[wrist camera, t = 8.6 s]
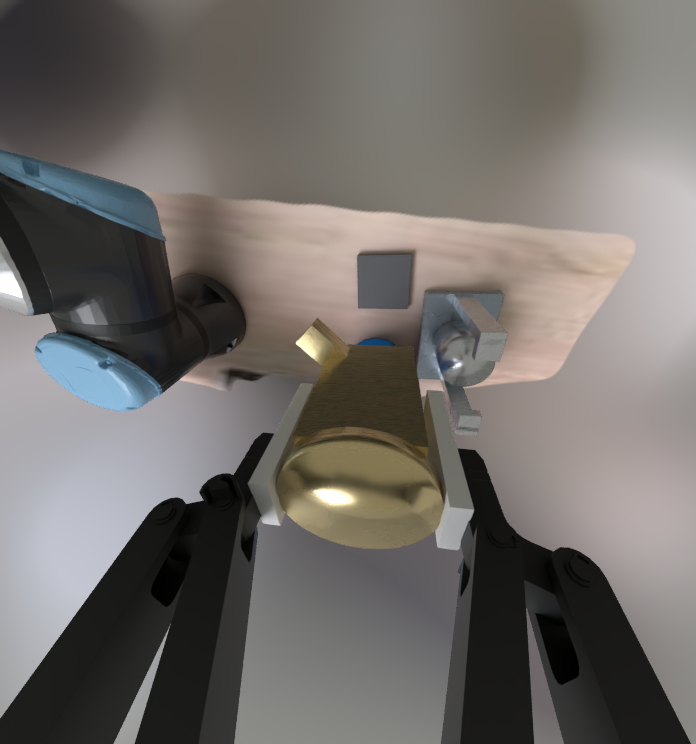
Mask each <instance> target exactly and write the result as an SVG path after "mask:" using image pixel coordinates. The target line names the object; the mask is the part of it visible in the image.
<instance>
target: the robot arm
mask: <svg viewBox="0 0 696 744" xmlns="http://www.w3.org/2000/svg"><path fill="white" fill-rule="evenodd" d="M165 241H166V238H165V236H164V235H163V234H162V229H161V225H160V221H159V217H158V212H157V209H156V206H155V204H154V202H153V201H152V200H151V198H150V197H149V196H148V195H146V194H145V193H144V192H142V191H141V190H139V189H137V188H134V187H132V186H129V185H126V184H122V183H119V182H116V181H112V180H109V179H106V178H102V177H99V176H95V175H92V174H89V173H85V172H81V171H78V170H74V169H71V168H67V167H64V166H60V165H57V164H53V163H49V162H46V161H42V160H39V159H35V158H31V157H27V156H24V155H20V154H16V153H12V152H8V151H4V150H0V306H1V307H3V308H5V309H8V310H11V311H13V312H16V313H19V314H21V315H24V316H32V315H39V314H46V313H49V314H50V316H51V318H52V320H53V323H54V325H55V327H56V330H57V331H56V333H49V334H47V335H45V336H44V337H43V338H42V339H41V340H39V341H38V342H37V346H36V347H35V353H36V357H37V359H38V361H39V363H40V364H41V365H42V367H43V368H44V369H45V370H46V372H47V373H48V374H49V375H50V376H51V377H52V378H53V379H54V380H56V381H57V382H58V383H59V384H60V385H62V386H63V387H64V388H66V389H67V390H68V391H70V392H71V393H73V394H75V395H76V396H78V397H80V398H82V399H83V400H85V401H87V402H89V403H92V404H94V405H97V406H99V407H102V408H106V409H109V410H115V411H131V410H135V409H138V408H140V407H142V406H143V405H145V404H146V403H148V402H149V401H151V400H152V399H154V398H156V397H159V396H160V395H161V394H162V393H163V392H164V391H166V390H167V389H168V388H169V387H171V386H172V385H173V384H174V383H175V382H177V381H178V380H179V379H180V378H182V377H183V376H184V375H185V374H187V373H188V372H189V371H190V370H192V369H193V368H194V367H195V366H197V365H198V364H199V363H200V362H202V361H203V360H206V359H210V358H213V357H217V356H221V355H224V354H227V353H228V352H230V351H232V350H233V349H234V348H235V347H236V346H238V345H239V344H240V342H241V341H242V339H243V337H244V334H245V319H244V315H243V312H242V309H241V307H240V305H239V303H238V302H237V300H236V299H235V297H234V296H233V295H232V294H231V293H230V292H229V291H228V290H227V289H226V288H225V287H224V286H223V285H221V284H220V283H219V282H217V281H215V280H214V279H212V278H209V277H207V276H203V275H199V274H188V275H184V276H181V277H177V278H175V279H173V280H171V276H170V270H169V264H168V258H167V253H166V247H165ZM313 389H314V384H304V383H301V384H300V386H299V388H298V390H297V392H296V394H295V396H294V398H293V399H292V401H291V403H290V405H289V407H288V409H287V411H286V413H285V415H284V416H283V418H282V420H281V422H280V424H279V426H278V428H277V430H276V432H275V433H274V434H271V433H262V434H261V435H260V436H259V437H258V438H256V439H255V441H254V442H253V444H252V445H251V447H250V449H249V451H248V452H247V454H246V455H245V458H244V459H243V460H242V462H241V464H240V465H239V467H238V469H237V470H236V472H235V474H234V475H231V474H220V475H216V476H215V477H213V478H211V479H209V480H208V481H207V482H206V483H205V484H204V485H203V486H202V488H201V490H200V494H201V496H202V498H203V500H204V501H200V502H195V503H190V504H186V503H185V502H184V501H183V500H182V499H180V498H170V499H167V500H165V501H163V502H161V503H160V504H158V505H157V506H156V507H154V508H153V510H152V511H151V512H150V513H149V514H148V515H147V517H146V518H145V520H144V521H143V522H142V524H141V525H140V527H139V528H138V529H137V531H136V532H135V533H134V535H133V536H132V537H131V539H130V540H129V542H128V543H127V544H126V546H125V547H124V548H123V550H122V551H121V553H120V554H119V555H118V557H117V558H116V560H115V561H114V562H113V564H112V565H111V566H110V568H109V569H108V571H107V572H106V573H105V575H104V576H103V578H102V579H101V580H100V582H99V583H98V584H97V586H96V587H95V589H94V590H93V591H92V593H91V594H90V595H89V597H88V598H87V600H86V601H85V602H84V604H83V605H82V606H81V608H80V609H79V611H78V612H77V613H76V615H75V616H74V618H73V619H72V620H71V622H70V623H69V624H68V626H67V627H66V629H65V630H64V631H63V633H62V634H61V635H60V637H59V638H58V640H57V641H56V642H55V644H54V645H53V647H52V648H51V649H50V651H49V652H48V654H47V655H46V656H45V658H44V659H43V660H42V662H41V663H40V665H39V666H38V667H37V669H36V670H35V672H34V673H33V674H32V676H31V677H30V678H29V680H28V681H27V682H26V684H25V686H24V687H23V688H22V690H21V691H20V692H19V694H18V695H17V696H16V698H15V699H14V701H13V702H12V703H11V705H10V706H9V707H8V709H7V710H6V711H5V713H4V714H3V716H2V717H1V718H0V744H113V743H114V741H115V739H116V737H117V735H118V733H119V731H120V729H121V727H122V725H123V722H124V720H125V718H126V716H127V714H128V712H129V710H130V708H131V705H132V703H133V701H134V699H135V697H136V695H137V693H138V691H139V689H140V687H141V685H142V683H143V680H144V678H145V676H146V674H147V672H148V670H149V668H150V666H151V664H152V662H153V659H154V657H155V655H156V653H157V651H158V649H159V647H160V645H161V643H162V641H163V638H164V636H165V634H166V632H167V630H168V628H169V626H170V628H169V632H168V635H167V639H166V642H165V645H164V648H163V652H162V655H161V658H160V661H159V665H158V668H157V671H156V675H155V678H154V681H153V685H152V688H151V691H150V695H149V698H148V702H147V705H146V708H145V711H144V715H143V718H142V721H141V724H140V728H139V731H138V734H137V738H136V742H135V744H234V739H235V729H236V721H237V712H238V704H239V695H240V686H241V677H242V668H243V659H244V651H245V641H246V633H247V624H248V615H249V607H250V598H251V589H252V580H253V571H254V563H255V554H256V545H257V536H258V531H257V523H258V521H259V519H260V517H261V519H262V521H263V523H264V524H271V525H278V526H280V525H281V522H282V520H283V517H284V514H285V511H284V510H283V508H282V506H281V505H280V502H279V498H278V495H277V492H276V483H277V479H278V476H279V474H280V472H281V469H282V467H283V465H284V462H285V460H286V458H287V455H288V453H289V451H290V450H291V449H292V448H293V446H294V440H293V434H294V432H295V429H296V427H297V425H298V423H299V420H300V418H301V416H302V414H303V411H304V409H305V407H306V405H307V402H308V400H309V398H310V396H311V393H312V391H313ZM424 419H425V426H426V432H427V438H428V445H429V449H428V455H427V458H428V459H429V460H430V461H431V463H432V464H433V465H434V467H435V469H436V471H437V474H438V477H439V481H440V487H441V493H442V498H443V504H444V510H443V513H442V517H441V520H440V524H439V526H438V528H437V529H436V530H435V532H436V539H437V547H438V548H445V549H452V550H459V547H460V545H461V546H462V551H463V555H464V558H463V560H462V562H461V565H460V567H459V570H458V573H460V581H459V590H458V599H457V607H456V616H455V625H454V634H453V643H452V651H451V661H450V670H449V678H448V687H447V695H446V704H445V714H444V722H443V731H442V740H441V744H534V735H533V717H532V702H531V686H530V685H531V684H530V667H529V651H528V635H527V617H526V608H527V609H528V613H529V617H530V620H531V624H532V628H533V631H534V635H535V638H536V642H537V646H538V650H539V653H540V657H541V661H542V664H543V668H544V671H545V675H546V679H547V682H548V686H549V690H550V694H551V697H552V701H553V704H554V708H555V712H556V715H557V719H558V723H559V726H560V730H561V734H562V737H563V741H564V744H691V743H690V741H689V739H688V737H687V735H686V733H685V731H684V729H683V727H682V725H681V723H680V721H679V720H678V717H677V715H676V713H675V712H674V710H673V708H672V706H671V704H670V702H669V700H668V698H667V696H666V694H665V692H664V690H663V688H662V686H661V684H660V682H659V680H658V678H657V676H656V674H655V673H654V670H653V668H652V667H651V665H650V663H649V661H648V659H647V657H646V655H645V653H644V651H643V649H642V647H641V645H640V643H639V641H638V639H637V637H636V635H635V633H634V631H633V630H632V627H631V625H630V624H629V622H628V620H627V618H626V616H625V614H624V612H623V610H622V608H621V606H620V604H619V602H618V600H617V598H616V596H615V594H614V592H613V590H612V588H611V586H610V584H609V582H608V581H607V578H606V577H605V575H604V574H603V572H602V571H601V570H600V568H599V567H598V566H597V565H596V564H595V563H594V562H593V561H592V560H591V559H590V558H588V557H587V556H585V555H584V554H582V553H581V552H579V551H577V550H574V549H571V548H562V547H561V548H558V549H557V550H555V551H554V552H553V551H550V550H548V549H546V548H543V547H541V546H539V545H537V544H534V543H532V542H530V541H528V540H526V539H524V538H523V537H521V536H520V535H519V534H517V533H516V531H515V530H514V529H513V528H512V527H511V526H510V525H509V524H508V523H507V521H506V519H505V517H504V515H503V512H502V509H501V506H500V504H499V501H498V498H497V495H496V493H495V490H494V487H493V485H492V482H491V479H490V476H489V474H488V473H487V468H486V466H485V463H484V460H483V459H482V458H481V457H480V456H479V454H478V453H477V452H476V451H475V450H468V449H457V446H456V442H455V438H454V434H453V431H452V427H451V423H450V420H449V416H448V412H447V409H446V406H445V402H444V398H443V395H442V391H433V390H427V394H426V400H425V407H424ZM170 624H171V625H170Z"/></svg>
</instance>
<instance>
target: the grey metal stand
mask: <svg viewBox="0 0 696 744" xmlns="http://www.w3.org/2000/svg"><path fill="white" fill-rule="evenodd" d="M504 295H505V294H504V293H502V292H501V291H425V294H424V302H423V311H422V319H421V328H420V337H419V345H418V354H417V362H416V368H417V375H418V378H419V379H440V380H441V383H442V386H443V390H444V393H445V397H446V401H447V404H448V408H449V411H450V415H451V419H452V422H453V425H454V429H455V433H456V434H461V435H474V436H475V435H477V432H478V429H479V426H480V423H481V419H482V415H481V413H480V411H477V410H472V409H471V407H470V404H469V402H468V399H467V396H466V394H465V392H464V389H463V387H467V386H473V385H476V384H478V383H480V382H482V381H484V380H485V379H486V378H487V377H488V376H489V375H490V374H491V373H492V371H493V369H494V366H495V361H500V359H501V355H502V352H503V349H504V346H505V342H506V339H507V336H508V332H507V331H506V330H505V329H504V328H503V327H502V326H501V325H500V324H499V323H498V322H497V320H498V316H499V313H500V309H501V306H502V302H503V298H504Z"/></svg>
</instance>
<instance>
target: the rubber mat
mask: <svg viewBox="0 0 696 744" xmlns="http://www.w3.org/2000/svg"><path fill="white" fill-rule="evenodd" d="M411 262H412V254H377V255H358V256H357V267H358V308H377V309H408V297H409V286H410V274H411Z"/></svg>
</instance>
